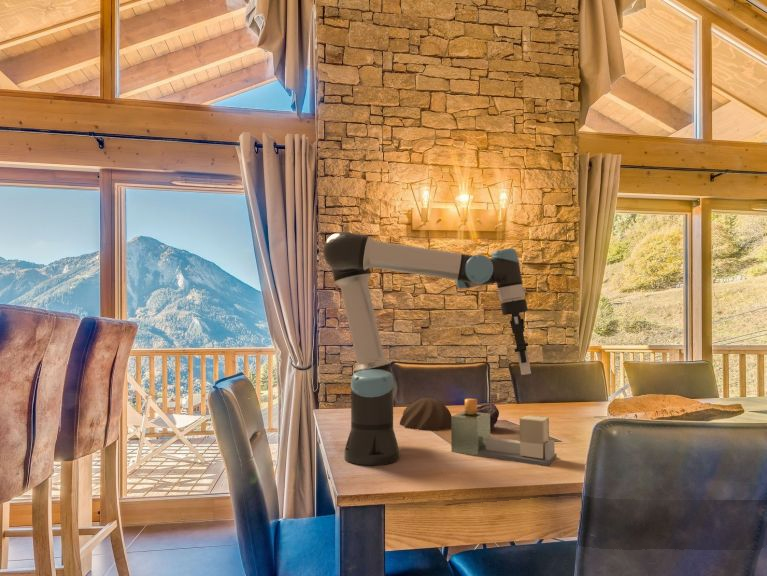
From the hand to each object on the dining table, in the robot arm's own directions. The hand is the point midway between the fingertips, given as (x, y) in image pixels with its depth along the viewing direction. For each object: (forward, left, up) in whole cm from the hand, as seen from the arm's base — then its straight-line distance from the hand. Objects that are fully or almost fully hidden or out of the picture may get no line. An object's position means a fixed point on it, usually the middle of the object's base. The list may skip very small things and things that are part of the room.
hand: (526, 371), depth 148 cm
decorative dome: (+16, +41, -23) cm, 50 cm away
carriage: (-9, -5, -21) cm, 24 cm away
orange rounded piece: (-9, +14, -13) cm, 21 cm away
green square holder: (-9, +14, -23) cm, 28 cm away
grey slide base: (-9, 0, -23) cm, 25 cm away
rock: (+20, +20, -23) cm, 36 cm away
